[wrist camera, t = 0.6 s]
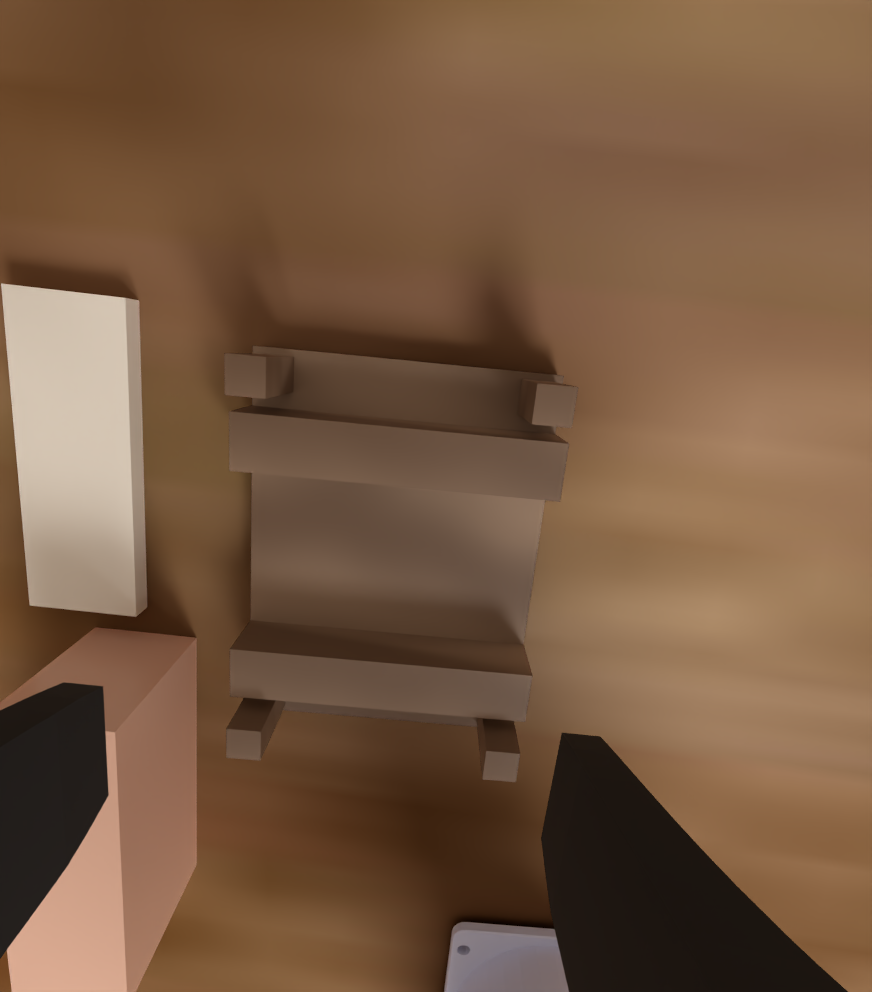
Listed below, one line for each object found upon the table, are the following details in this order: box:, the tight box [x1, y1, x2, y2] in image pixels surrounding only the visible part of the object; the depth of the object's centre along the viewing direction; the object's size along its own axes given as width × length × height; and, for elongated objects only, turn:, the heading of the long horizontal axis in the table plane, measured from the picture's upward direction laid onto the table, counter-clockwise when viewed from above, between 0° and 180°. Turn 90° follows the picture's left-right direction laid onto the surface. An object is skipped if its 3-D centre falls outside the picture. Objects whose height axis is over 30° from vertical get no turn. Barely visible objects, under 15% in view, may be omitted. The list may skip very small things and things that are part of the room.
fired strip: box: [1, 284, 147, 617], centre depth 17 cm, size 10×4×1 cm, turn 174°
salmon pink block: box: [0, 627, 197, 992], centre depth 18 cm, size 10×4×5 cm, turn 174°
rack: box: [225, 346, 578, 782], centre depth 16 cm, size 12×9×3 cm
